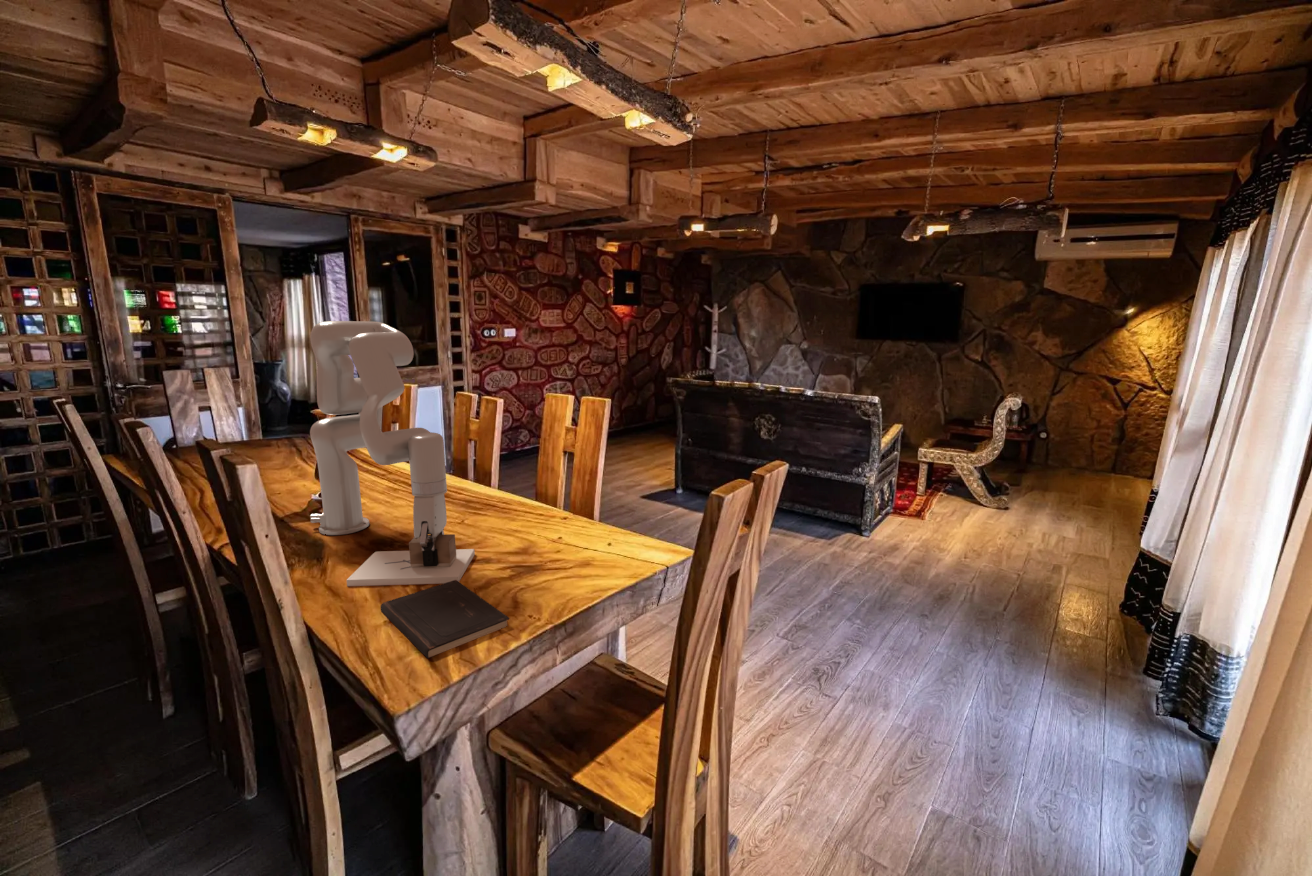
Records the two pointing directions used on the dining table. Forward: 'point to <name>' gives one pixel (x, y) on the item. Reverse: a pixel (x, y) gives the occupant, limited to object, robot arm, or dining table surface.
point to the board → (407, 570)
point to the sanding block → (444, 550)
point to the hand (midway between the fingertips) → (434, 559)
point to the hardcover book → (443, 617)
